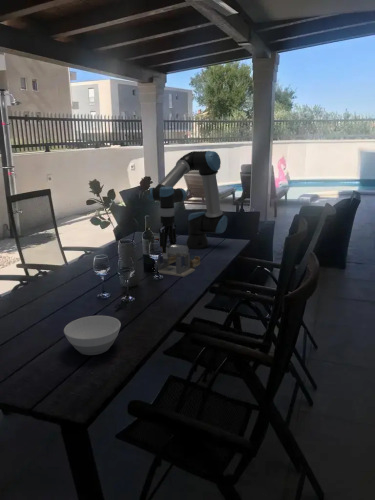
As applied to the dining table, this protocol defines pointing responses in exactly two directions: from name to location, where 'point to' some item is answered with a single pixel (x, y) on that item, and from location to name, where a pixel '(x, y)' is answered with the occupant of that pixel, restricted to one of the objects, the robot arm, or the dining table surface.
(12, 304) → the dining table surface
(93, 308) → the dining table surface
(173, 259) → the rack
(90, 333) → the bowl
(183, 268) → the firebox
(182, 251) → the tube
